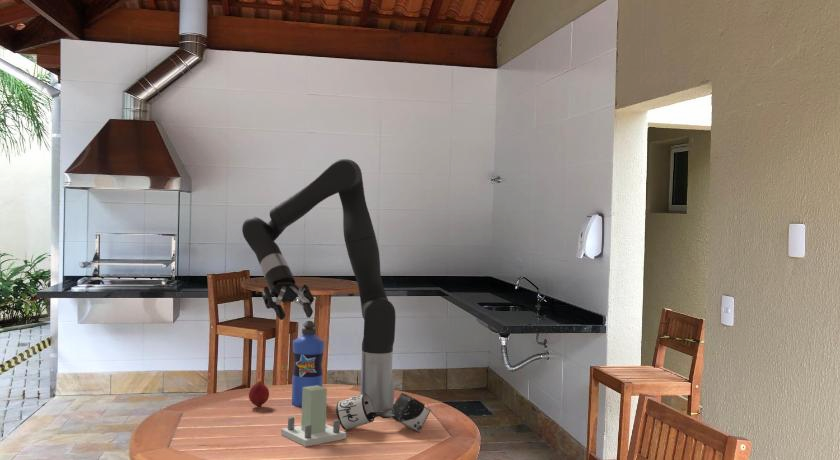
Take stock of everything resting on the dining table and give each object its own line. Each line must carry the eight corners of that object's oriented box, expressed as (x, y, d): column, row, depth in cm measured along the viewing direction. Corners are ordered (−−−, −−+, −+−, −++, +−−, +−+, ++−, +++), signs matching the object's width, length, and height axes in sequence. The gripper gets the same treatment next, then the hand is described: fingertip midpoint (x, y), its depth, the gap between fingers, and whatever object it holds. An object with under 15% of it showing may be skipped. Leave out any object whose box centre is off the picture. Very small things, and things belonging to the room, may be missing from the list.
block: (316, 427, 192) (317, 385, 192) (325, 431, 188) (326, 388, 188) (301, 429, 189) (302, 387, 189) (310, 434, 186) (311, 390, 185)
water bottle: (319, 408, 217) (322, 323, 217) (288, 407, 217) (291, 322, 217) (324, 400, 226) (326, 319, 226) (294, 399, 227) (296, 318, 226)
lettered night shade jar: (335, 436, 190) (336, 397, 190) (335, 425, 200) (336, 389, 200) (432, 435, 193) (433, 397, 193) (427, 425, 203) (428, 389, 203)
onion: (263, 410, 213) (264, 382, 213) (245, 408, 214) (246, 381, 214) (271, 405, 218) (272, 378, 218) (253, 404, 219) (254, 377, 219)
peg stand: (320, 427, 197) (321, 410, 197) (345, 438, 188) (346, 421, 188) (281, 434, 189) (281, 417, 189) (305, 446, 180) (305, 428, 180)
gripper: (259, 264, 205) (278, 310, 196) (303, 263, 214) (324, 306, 206) (250, 282, 209) (269, 327, 201) (293, 280, 218) (313, 323, 210)
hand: (296, 317), depth 203 cm, fingers open, 8 cm apart
